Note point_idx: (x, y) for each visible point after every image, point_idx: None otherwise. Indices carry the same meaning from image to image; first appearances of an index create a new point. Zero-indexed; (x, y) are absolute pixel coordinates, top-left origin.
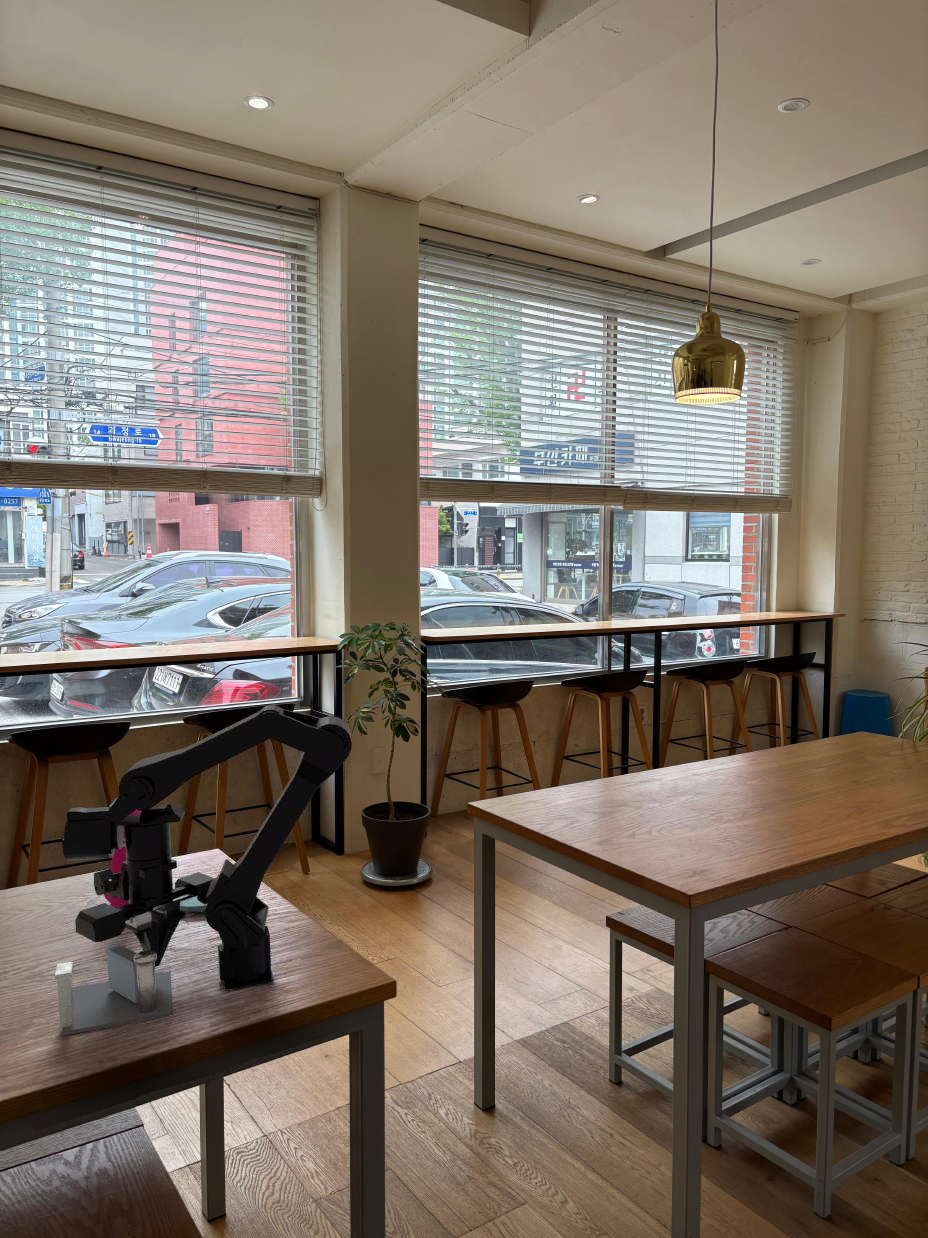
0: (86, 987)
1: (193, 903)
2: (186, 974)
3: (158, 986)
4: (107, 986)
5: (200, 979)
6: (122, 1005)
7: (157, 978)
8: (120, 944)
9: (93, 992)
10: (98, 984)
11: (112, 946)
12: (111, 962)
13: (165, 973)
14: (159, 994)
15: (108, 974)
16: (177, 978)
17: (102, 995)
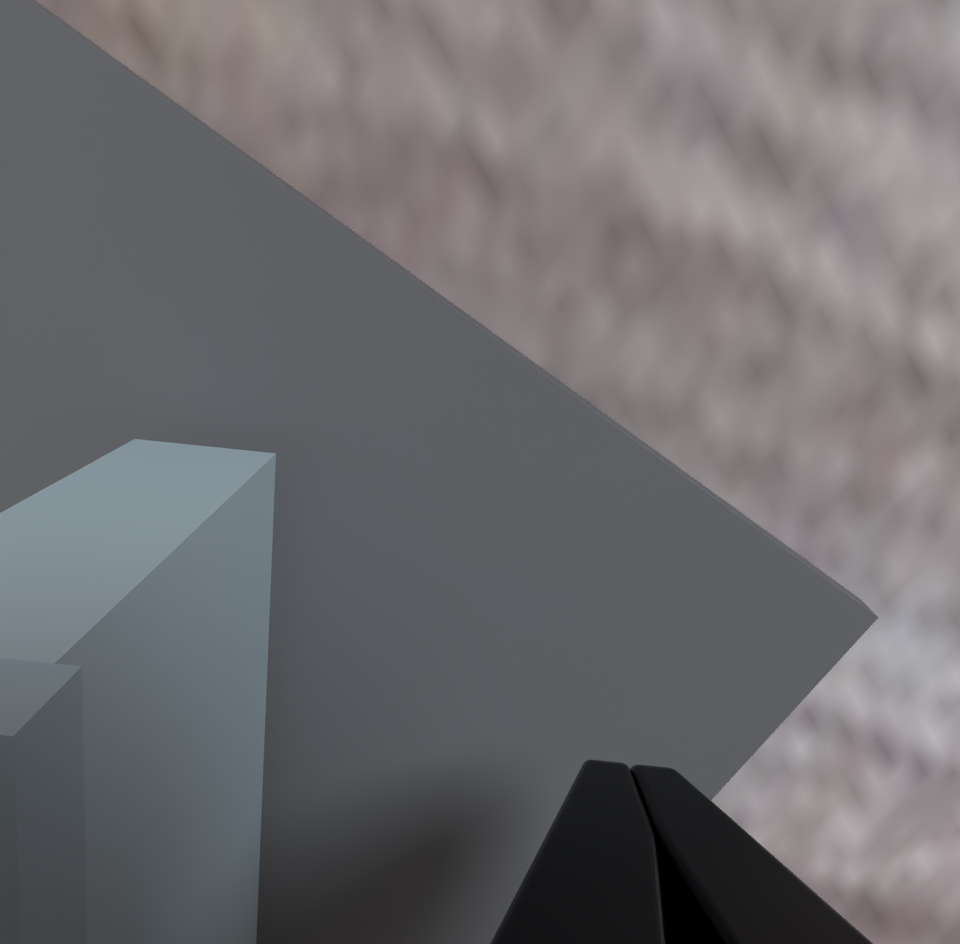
0: (16, 79)
1: None
2: (950, 731)
3: (545, 797)
4: (199, 305)
5: (928, 926)
6: None
7: (666, 642)
8: (7, 851)
9: (11, 296)
10: (153, 151)
11: None
12: None
13: (801, 622)
14: (436, 938)
15: (49, 492)
16: (833, 723)
17: (46, 460)
